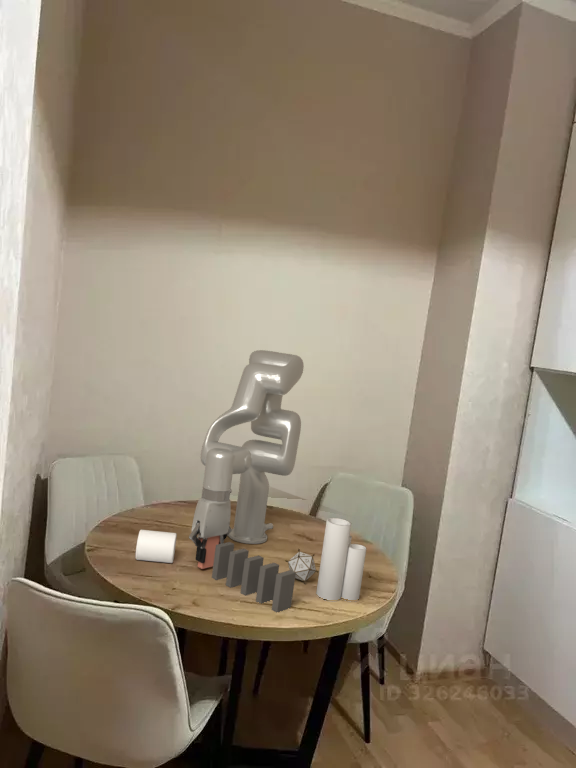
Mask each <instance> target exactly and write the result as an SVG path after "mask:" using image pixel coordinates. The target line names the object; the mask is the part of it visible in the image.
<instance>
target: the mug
mask: <svg viewBox="0 0 576 768" xmlns="http://www.w3.org/2000/svg"><path fill="white" fill-rule="evenodd" d="M176 544H177V533H176V532H169V531H168V532H167V531H157V530H148V529H140V530H139V532H138V534H137V540H136V546H135V547H136V548H135V559H136V560H138V561H147V562H148V561H149V562H158V563H169V564H172V563H173V562H174V558H175V551H176Z"/></svg>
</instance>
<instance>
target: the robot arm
mask: <svg viewBox="0 0 576 768" xmlns="http://www.w3.org/2000/svg"><path fill="white" fill-rule="evenodd" d="M304 368H305V367H304V361H303V359H302V357H300V356H299V355H297V354H291V353H285V352H280V351H272V350H266V349H265V350H263V349H262V350H261V349H260V350H259V349H258V350H254V351H252V352H251V353H250V355H249V359H248V364H247V365H245V367H244V368H243V371H242V374H241V377H240V380H239V383H238V386H237V388H236V392H235V395H234V398H233V401H232V404H231V407H230V408H229V409H228V410H227V411H225V412H223V413H222V414H221V415H219V416H218V417H217V418H216V419H215V420H214V421H213V422H212V423H211V425H210V426H209V427H208V429H207V431H206V435H205V437H204V440H203V443H202V446H201V451H200V462H201V463H202V465H203V466H204V473H203V482H202V491H201V498H198V501H197V504H196V507H195V509H194V515H193V520H192V525H191V532H190V534H189V536H188V538H189V539H190V540H191V541H192V543H194V545H195V546H196V553H195V560H196V562H198V561H199V562H201V563H205V558H206V549H205V546H206V543H207V539H208V538H210V537H215V536H219V544H222V543H225V540H226V539H227V536H228V537H229V539H231V540H232V541H234V542H237V543H241V544H246V545H247V544H248V545H249V544H250V545H259V544H263V543H266V542H267V540H268V535H267V534H266V532H267V530H272V529H273V528H274V524H273V523H272V522H271V523H265V521H266V514H267V507H268V498H269V492H270V483H269V479H268V477H267V475H266V473H268V474H272V475H276V476H282V477H283V476H284V477H286V476H289V475H291V473H292V472H293V471H294V468H295V464H296V460H297V453H298V448H299V447H298V446H299V441H300V436H301V435H300V434H301V431H302V430H301V428H302V421H301V416H300V415H299V413H297V412H296V411H293V410H289V409H288V410H287V409H283V408H282V401H283V396H284V395H287V394H288V393H290V391H291V390H292V389H293V388H294V387H295V385H296V384H297V383H298V382H299V381H300V379H301V378H302V375H303V373H304ZM246 423H250V430H251V431H252V433H253V434H255V435H256V436H257V435H258V436H259V437H264V438H270V439H275V440H280V441H281V443H277V442H271V441H266V440H261V439H248V440H247V441H245V442H244V443H243V444H242V446H240V445H235V444H229V443H226V442H225V443H224V442H220V438H221V436H222V435H223V434H224V433H225V432H226V431H228V430H229V429H231V428H233V427H235V426H238V425H242V424H246ZM239 474H240V478H239V484H238V485H239V486H238V494H237V502H236V508H235V509H236V510H235V515H234V521H233V522H234V525H233V528H232V527H231V526H230V525H231V513H232V510H231V509H232V508H231V507H232V506H231V505H232V504H231V498H230V496H231V493H232V492H233V490H232V480H233V475H239ZM201 538H202V539H203V540H202V542H201Z"/></svg>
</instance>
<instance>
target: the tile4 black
mask: <svg viewBox="0 0 576 768" xmlns="http://www.w3.org/2000/svg"><path fill="white" fill-rule="evenodd" d="M263 564H264V557H263V556H262V555H254V556H251V557H248V558H246V559H245V562H244V569H243V577H242V584H241V585H240V592H239V593H240V594H241V595H243V596H249V595H253V594H255V592H256V593H257V588H258V580H259V573H260V566H263ZM252 593H253V594H252Z"/></svg>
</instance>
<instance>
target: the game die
mask: <svg viewBox="0 0 576 768" xmlns="http://www.w3.org/2000/svg"><path fill="white" fill-rule="evenodd" d="M297 551H298V552H296V553H295V554H294V555H293V556H292V557H291V558H290V559H288V560H287V559H285V560H284V561H285V563H287V566H288V569H289V570H291V571H293V572H295V573H296V575H295V580H296V579H297V580H299V581H302V582H303V584H304V585H305V584H307V581H308V579H310V578H311V577H312V576H313V575H314V574H315V573H319V570H317V568H316V563H315V560H314V557H315V556H316V555H315V554H316V553H313V554H312V555H311V554H309V553H305V552H302V551H301V550H300V548H297ZM289 570H288V571H289Z"/></svg>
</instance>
